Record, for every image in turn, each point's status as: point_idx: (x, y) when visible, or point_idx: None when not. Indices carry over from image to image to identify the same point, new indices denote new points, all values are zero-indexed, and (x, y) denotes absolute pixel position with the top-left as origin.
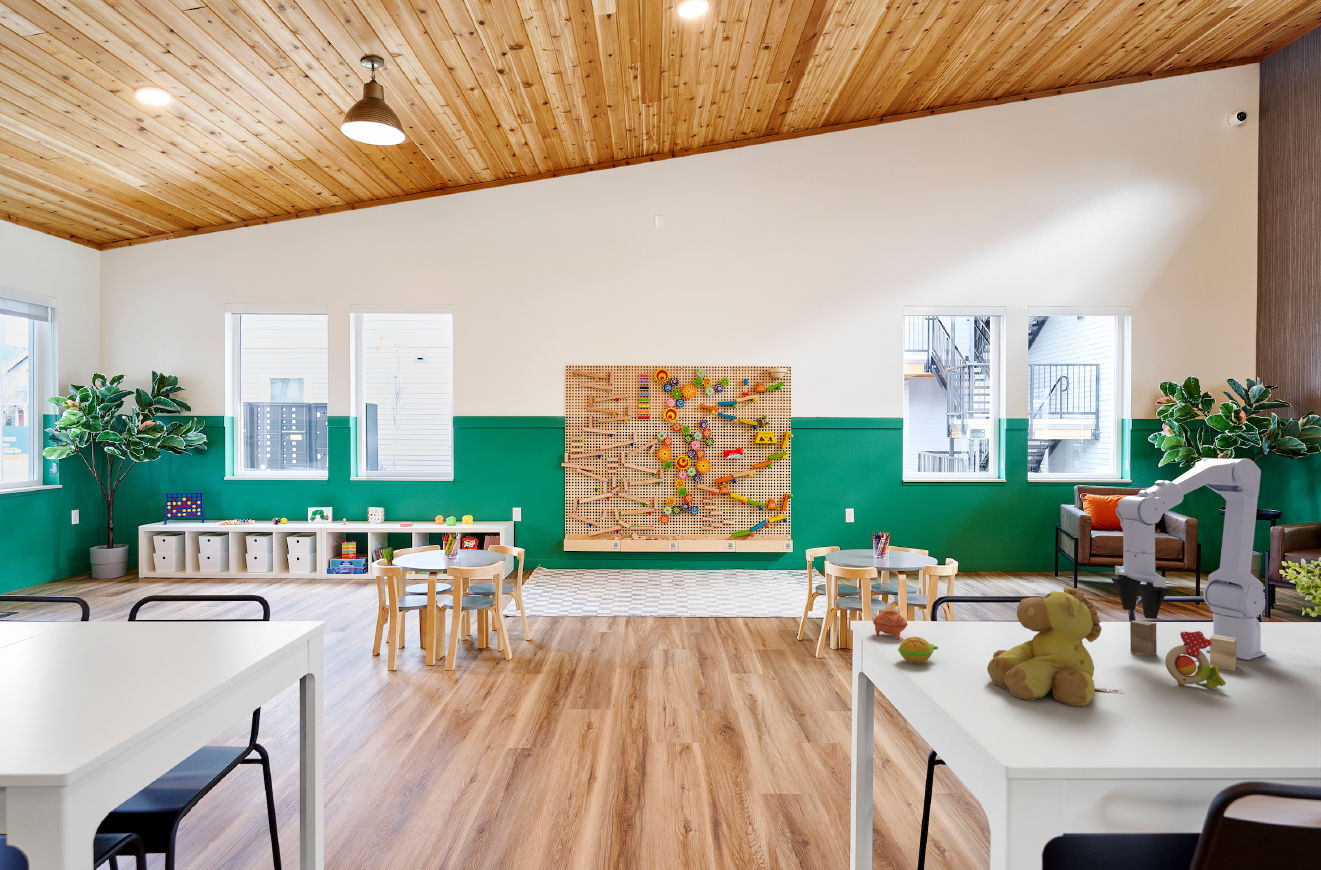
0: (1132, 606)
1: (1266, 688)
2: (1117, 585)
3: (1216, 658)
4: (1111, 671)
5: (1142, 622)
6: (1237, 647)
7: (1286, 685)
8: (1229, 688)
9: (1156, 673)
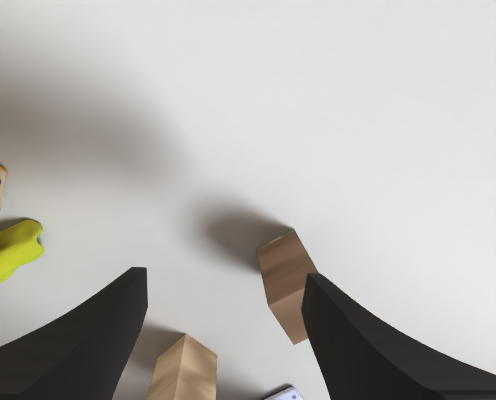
0: (306, 313)
1: None
2: (402, 352)
3: (175, 357)
4: (99, 44)
5: None
6: None
7: None
8: None
9: (103, 174)
